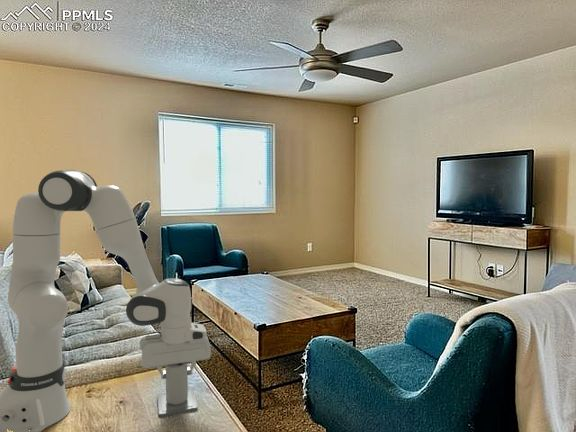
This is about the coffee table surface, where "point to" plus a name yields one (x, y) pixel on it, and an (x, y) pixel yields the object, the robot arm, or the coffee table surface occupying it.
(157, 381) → the coffee table surface
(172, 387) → the beverage can
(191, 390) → the coaster
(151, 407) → the coffee table surface
